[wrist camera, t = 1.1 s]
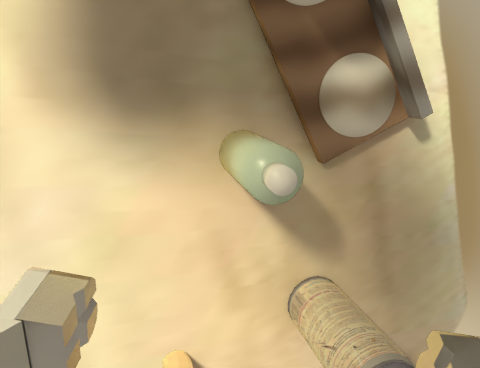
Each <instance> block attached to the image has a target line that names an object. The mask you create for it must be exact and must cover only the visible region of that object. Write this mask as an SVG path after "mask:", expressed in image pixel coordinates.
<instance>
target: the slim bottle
mask: <svg viewBox="0 0 480 368" xmlns="http://www.w3.org/2000/svg"><path fill="white" fill-rule="evenodd" d="M219 157H220V161H221V164H222V166H223V167H224V168H225V169H226V170H227V171H228V172H229V173H230V174H231V175H232V176H233V177H234V178H235V179H236V180H237V181H238V182H239V183H240V184H241V185H242V186H243V187H244V188H245V189H246V190H247V191H248V192H249V193H250V194H251V195H252V196H254V197H255V198H256V199H257V200H258V201H260V202H262V203H264V204H268V205H278V204H282V203H284V202H287V201H288V200H290V199H291V198H292V197H294V195H295V194H296V193H297V192H298V190H299V189H300V187H301V184H302V181H303V166H302V163H301V161H300V159H299V158H298V156H297V155H296V154H295V153H294V152H293V151H291V150H289V149H287V148H285V147H283V146H281V145H278V144H276V143H274V142H272V141H269V140H267V139H265V138H263V137H261V136H258V135H256V134H254V133H252V132H249V131H244V130H243V131H236V132H233V133H231V134H230V135H228V136H227V137H226V138H225V139H224V141H223V142H222V144H221V147H220V151H219Z"/></svg>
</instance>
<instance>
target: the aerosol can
mask: <svg viewBox="0 0 480 368" xmlns="http://www.w3.org/2000/svg"><path fill="white" fill-rule="evenodd" d="M288 312H289V314H290V316H291V319H292V320H293V322H294V323H295V325H296V326H297V328H298V329H299V331H300V332H301V334H302V335H303V337H304V338H305V340H306V341H307V343H308V344H309V346H310V347H311V349H312V350H313V352H314V353H315V355H316V356H317V358H318V359H319V361H320V362H321V364H322V365H323V367H324V368H415V367H414V365H413V363H412V362H411V361H410V360H409V359H408V358H407V357H406V356H405V355H404V353H403V352H402V351H401V350H400V349H399V348H398V347H397V346H396V345H395V344H394V343H393V342H392V341H391V340H390V339H389V338H388V337H387V336H386V335H385V334H384V333H383V332H382V331H381V330H380V329H379V328H378V327H377V326H376V325H375V324H374V323H373V322H372V321H371V320H370V319H369V318H368V317H367V316H366V315H365V314H364V313H363V312H362V311H361V310H360V309H359V308H358V307H357V306H356V305H355V304H354V303H353V302H352V301H351V300H350V299H349V298H348V297H347V296H346V295H345V294H344V293H343V292H342V291H341V290H340V289H339V288H338V287H337V286H336V285H335V284H334V283H333V282H332V281H331V280H329V279H327V278H325V277H318V276H317V277H311V278H308V279H306V280H304V281H302V282H301V283H299V284H298V285H297V286H296V287H295V288H294V290H293V291H292V293H291V294H290V297H289V301H288Z"/></svg>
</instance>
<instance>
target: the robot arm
mask: <svg viewBox="0 0 480 368" xmlns="http://www.w3.org/2000/svg"><path fill="white" fill-rule="evenodd" d="M95 291H96V282H95V279H94V278H92V277H87V276H82V275H76V274H71V273H65V272H60V271H54V270H53V271H52V270H46V269H41V268H35V267H32V268H30V269H29V270H27V271H26V272H25V274H24V275H23V276H22V277H21V279H20V280H19V281H18V283H17V284H16V285H15V286H14V288H13V289H12V290H11V292H10V293H9V294H8V295H7V297H6V298H5V299H4V301H3V302H2V303H1V304H0V368H76V366H77V364H78V362H79V360H80V358H81V355H80V347H81V346H83V345H84V344H86V343H88V342H89V339H90V337H91V335H92V333H93V330H94V327H95V323H96V319H97V303H96V301H95V300H94V299H93V298H92V297H93V295H94V293H95ZM426 342H427V346H428V350H426V351H424V352H422V353H421V354H420V355H419V358H418V360H417V362H416V368H480V337H478V336H477V337H475V336H470V335H462V334H456V333H450V332H443V331H436V330H434V331H432V332H431V333H430V334H429V336H428V338H427V340H426Z"/></svg>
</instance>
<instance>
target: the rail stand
mask: <svg viewBox="0 0 480 368" xmlns="http://www.w3.org/2000/svg"><path fill="white" fill-rule="evenodd" d="M249 1H250V4H251V6H252V8H253V11H254V13H255V15H256V18H257V20H258V22H259V25H260V27H261V29H262V32H263V34H264V36H265V39H266V41H267V43H268V46H269V48H270V50H271V53H272V55H273V57H274V60H275V62H276V64H277V67H278V69H279V71H280V74H281V76H282V78H283V81H284V83H285V85H286V88H287V90H288V92H289V95H290V97H291V99H292V102H293V104H294V106H295V109H296V111H297V113H298V116H299V118H300V120H301V123H302V125H303V127H304V130H305V132H306V134H307V137H308V139H309V141H310V144H311V146H312V148H313V151H314V153H315V155H316V158H317V160H318V161H319V162H321V163H325V162H327V161H329V160H331V159H333V158H334V157H336V156H338V155H340V154H342V153H344V152H345V151H347V150H349V149H351V148H353V147H355V146H356V145H358V144H360V143H362V142H364V141H366V140H367V139H369V138H371V137H373V136H375V135H377V134H378V133H380V132H382V131H384V130H386V129H388V128H389V127H391V126H393V125H395V124H397V123H399V122H400V121H402V120H404V119H406V118H408V117H411V118H418V119H423V118H425V117H426V116H428V115H430V114H432V113H433V110H432V107H431V104H430V101H429V98H428V95H427V91H426V88H425V85H424V82H423V79H422V76H421V73H420V70H419V67H418V64H417V61H416V58H415V55H414V52H413V49H412V45H411V42H410V39H409V36H408V33H407V30H406V27H405V24H404V21H403V18H402V15H401V12H400V9H399V6H398V3H397V0H249Z"/></svg>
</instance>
